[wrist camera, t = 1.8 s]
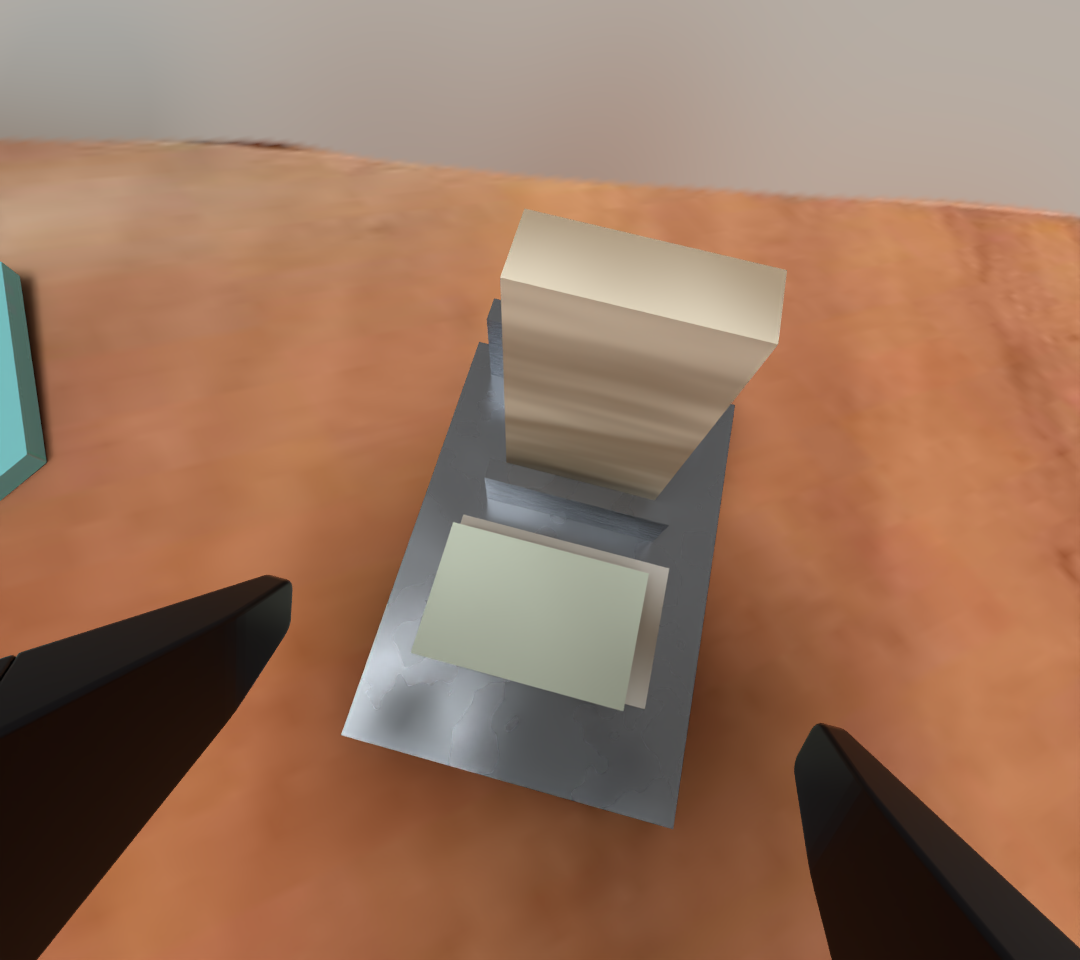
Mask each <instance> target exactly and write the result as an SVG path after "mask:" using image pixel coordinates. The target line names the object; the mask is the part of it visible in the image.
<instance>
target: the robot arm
mask: <svg viewBox="0 0 1080 960" xmlns="http://www.w3.org/2000/svg"><path fill="white" fill-rule="evenodd" d="M291 606H292V584H291V582H290V581H289V580H287V579H283V578H279V577H276V576H272V575H264V576H261V577H258V578H255V579H251V580H248V581H245V582H242V583H239V584H236V585H233V586H229V587H226V588H223V589H220V590H217V591H214V592H210V593H207V594H204V595H201V596H198V597H195V598H191V599H188V600H185V601H182V602H179V603H176V604H172V605H169V606H166V607H163V608H160V609H157V610H153V611H150V612H147V613H144V614H141V615H138V616H134V617H131V618H128V619H125V620H122V621H119V622H115V623H112V624H109V625H106V626H103V627H100V628H96V629H93V630H90V631H87V632H84V633H81V634H77V635H74V636H71V637H68V638H65V639H62V640H58V641H55V642H52V643H49V644H46V645H43V646H39V647H36V648H33V649H30V650H27V651H24V652H21V653H19V654H18V655H17V656H16V657H15V656H13V655H11V656H7V657H4V658H1V659H0V960H37V959H38V958H39V957H40V955H41V954H42V953H43V952H44V950H45V949H46V948H47V947H48V945H49V944H50V943H51V942H52V940H53V939H54V938H55V937H56V935H57V934H58V933H59V932H60V930H61V929H62V928H63V927H64V925H65V924H66V923H67V922H68V920H69V919H70V918H71V917H72V915H73V914H74V913H75V912H76V910H77V909H78V908H79V907H80V905H81V904H82V903H83V902H84V900H85V899H86V898H87V897H88V895H89V894H90V893H91V892H92V890H93V889H94V888H95V887H96V885H97V884H98V883H99V882H100V880H101V879H102V878H103V877H104V875H105V874H106V873H107V872H108V870H109V869H110V868H111V867H112V865H113V864H114V863H115V862H116V860H117V859H118V858H119V857H120V855H121V854H122V853H123V852H124V850H125V849H126V848H127V847H128V845H129V844H130V843H131V842H132V841H133V839H134V838H135V837H136V836H137V834H138V833H139V832H140V831H141V829H142V828H143V827H144V826H145V824H146V823H147V822H148V821H149V819H150V818H151V817H152V816H153V814H154V813H155V812H156V811H157V809H158V808H159V807H160V806H161V804H162V803H163V802H164V801H165V799H166V798H167V797H168V796H169V794H170V793H171V792H172V791H173V789H174V788H175V787H176V786H177V784H178V783H179V782H180V781H181V779H182V778H183V777H184V776H185V774H186V773H187V772H188V771H189V769H190V768H191V767H192V766H193V764H194V763H195V762H196V761H197V759H198V758H199V757H200V756H201V754H202V753H203V752H204V751H205V749H206V748H207V747H208V746H209V744H210V743H211V742H212V741H213V739H214V738H215V737H216V736H217V734H218V733H219V732H220V731H221V729H222V728H223V727H224V726H225V724H226V723H227V722H228V720H229V719H230V718H231V717H232V715H233V714H234V713H235V711H236V710H237V708H238V707H239V705H240V704H241V702H242V701H243V700H244V698H245V696H246V695H247V693H248V692H249V690H250V689H251V687H252V686H253V684H254V683H255V681H256V679H257V678H258V676H259V675H260V673H261V672H262V670H263V669H264V667H265V665H266V664H267V662H268V661H269V659H270V658H271V656H272V655H273V653H274V652H275V650H276V648H277V647H278V645H279V644H280V642H281V641H282V639H283V638H284V636H285V634H286V633H287V630H288V628H289V625H290V621H291ZM794 773H795V780H796V787H797V793H798V800H799V806H800V813H801V820H802V826H803V833H804V839H805V846H806V852H807V858H808V864H809V869H810V874H811V878H812V883H813V887H814V891H815V895H816V899H817V903H818V907H819V911H820V915H821V919H822V923H823V927H824V931H825V935H826V939H827V942H828V946H829V950H830V954H831V958H832V960H1080V948H1079V947H1078V946H1077V945H1076V944H1075V943H1074V942H1073V941H1071V940H1070V939H1069V938H1068V937H1067V936H1066V935H1065V934H1064V933H1063V932H1062V931H1061V930H1060V929H1059V928H1057V927H1056V926H1055V925H1054V924H1053V923H1052V922H1051V921H1050V920H1049V919H1048V918H1047V917H1046V916H1045V915H1043V914H1042V913H1041V912H1040V911H1039V910H1038V909H1037V908H1036V907H1035V906H1034V905H1033V904H1032V903H1031V902H1030V901H1028V900H1027V899H1026V898H1025V897H1024V896H1023V895H1022V894H1021V893H1020V892H1019V891H1018V890H1017V889H1016V888H1014V887H1013V886H1012V885H1011V884H1010V883H1009V882H1008V881H1007V880H1006V879H1005V878H1004V877H1003V876H1002V875H1000V874H999V873H998V872H997V871H996V870H995V869H994V868H993V867H992V866H991V865H990V864H989V863H988V862H987V861H985V860H984V859H983V858H982V857H981V856H980V855H979V854H978V853H977V852H976V851H975V850H974V849H973V848H971V847H970V846H969V845H968V844H967V843H966V842H965V841H964V840H963V839H962V838H961V837H960V836H959V835H957V834H956V833H955V832H954V831H953V830H952V829H951V828H950V827H949V826H948V825H947V824H946V823H945V822H944V821H942V820H941V819H940V818H939V817H938V816H937V815H936V814H935V813H934V812H933V811H932V810H931V809H930V808H928V807H927V806H926V805H925V804H924V803H923V802H922V801H921V800H920V799H919V798H918V797H917V796H916V795H915V794H913V793H912V792H911V791H910V790H909V789H908V788H907V787H906V786H905V785H904V784H903V783H902V782H901V781H899V780H898V779H897V778H896V777H895V776H894V775H893V774H892V773H891V772H890V771H889V770H888V769H887V768H886V767H884V766H883V765H882V764H881V763H880V762H879V761H878V760H877V759H876V758H875V757H874V756H873V755H872V754H870V753H869V752H868V751H867V750H866V749H865V748H864V747H863V746H862V745H861V744H860V743H859V742H858V741H857V740H855V739H854V738H853V737H852V736H851V735H850V734H849V733H848V732H847V731H845V730H844V729H842V728H838V727H834V726H831V725H827V724H823V723H819V724H816V725H815V726H814V727H813V728H812V730H811V731H810V733H809V735H808V737H807V739H806V741H805V742H804V744H803V746H802V748H801V750H800V752H799V754H798V755H797V758H796V761H795V766H794Z"/></svg>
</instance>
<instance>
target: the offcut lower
mask: <svg viewBox="0 0 1080 960" xmlns="http://www.w3.org/2000/svg"><path fill="white" fill-rule="evenodd" d="M460 524H463V525H466V526H470V527H474V528H478V529H482V530H485V531H489V532H493V533H497V534H501V535H504V536H508V537H512V538H516V539H520V540H523V541H527V542H531V543H535V544H539V545H542V546H546V547H550V548H554V549H558V550H561V551H565V552H569V553H573V554H577V555H581V556H584V557H588V558H592V559H596V560H600V561H603V562H607V563H611V564H615V565H619V566H622V567H626V568H630V569H634V570H638V571H641V572H645V573H649V576H648V581H647V587H646V592H645V597H644V603H643V608H642V613H641V619H640V624H639V630H638V635H637V640H636V646H635V651H634V656H633V662H632V667H631V673H630V678H629V683H628V689H627V694H626V699H625V704H627V705H630V706H634V707H638V708H642V709H645V705H646V700H647V694H648V688H649V682H650V676H651V671H652V665H653V659H654V653H655V648H656V642H657V636H658V630H659V625H660V619H661V613H662V607H663V601H664V596H665V590H666V584H667V578H668V573H669V568H666V567H662V566H658V565H654V564H651V563H647V562H643V561H639V560H635V559H631V558H628V557H624V556H620V555H616V554H612V553H609V552H605V551H601V550H597V549H593V548H590V547H586V546H582V545H578V544H574V543H570V542H567V541H563V540H559V539H555V538H551V537H548V536H544V535H540V534H536V533H532V532H528V531H525V530H521V529H517V528H513V527H509V526H506V525H502V524H498V523H494V522H490V521H486V520H483V519H479V518H475V517H471V516H467V515H464V514H463V517H462V520H461V523H460Z"/></svg>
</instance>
